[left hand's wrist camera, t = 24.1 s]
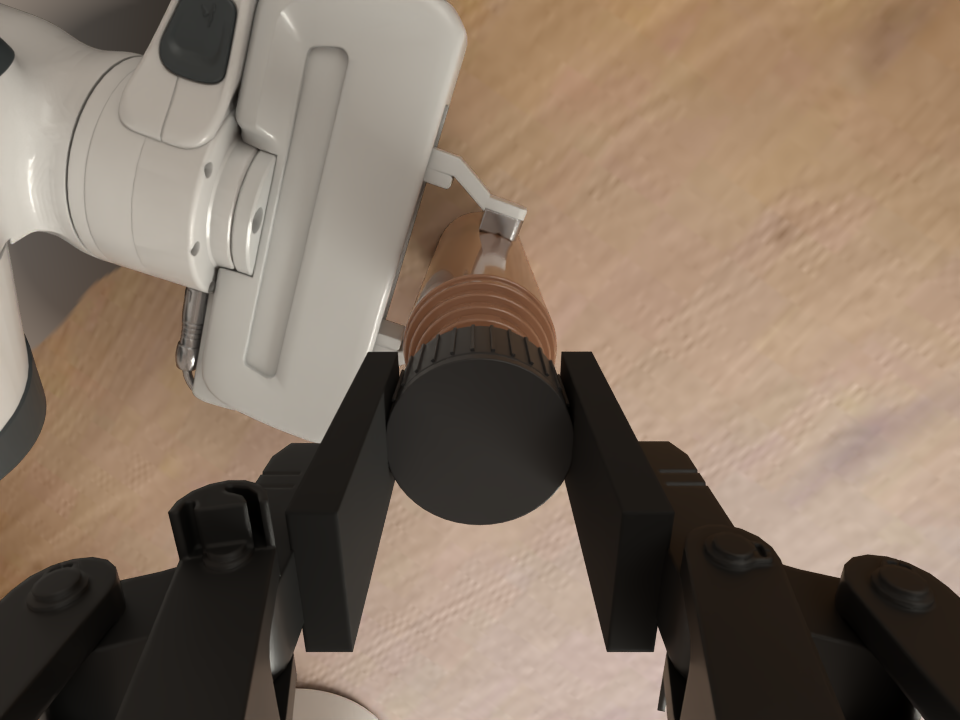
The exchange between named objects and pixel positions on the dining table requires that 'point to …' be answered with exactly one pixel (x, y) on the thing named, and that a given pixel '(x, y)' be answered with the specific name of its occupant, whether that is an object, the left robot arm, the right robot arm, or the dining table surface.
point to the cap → (479, 427)
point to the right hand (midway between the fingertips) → (497, 287)
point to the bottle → (478, 289)
